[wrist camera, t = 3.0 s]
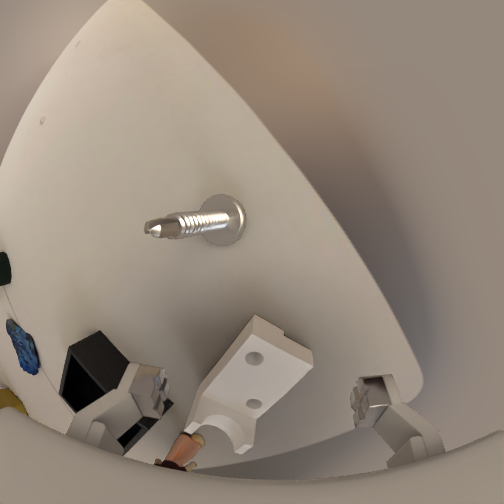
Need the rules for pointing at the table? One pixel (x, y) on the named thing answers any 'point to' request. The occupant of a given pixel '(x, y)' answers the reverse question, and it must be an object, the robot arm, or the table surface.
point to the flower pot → (10, 401)
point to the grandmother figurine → (182, 453)
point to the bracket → (248, 382)
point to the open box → (99, 381)
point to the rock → (23, 348)
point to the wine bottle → (4, 269)
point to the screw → (204, 222)
